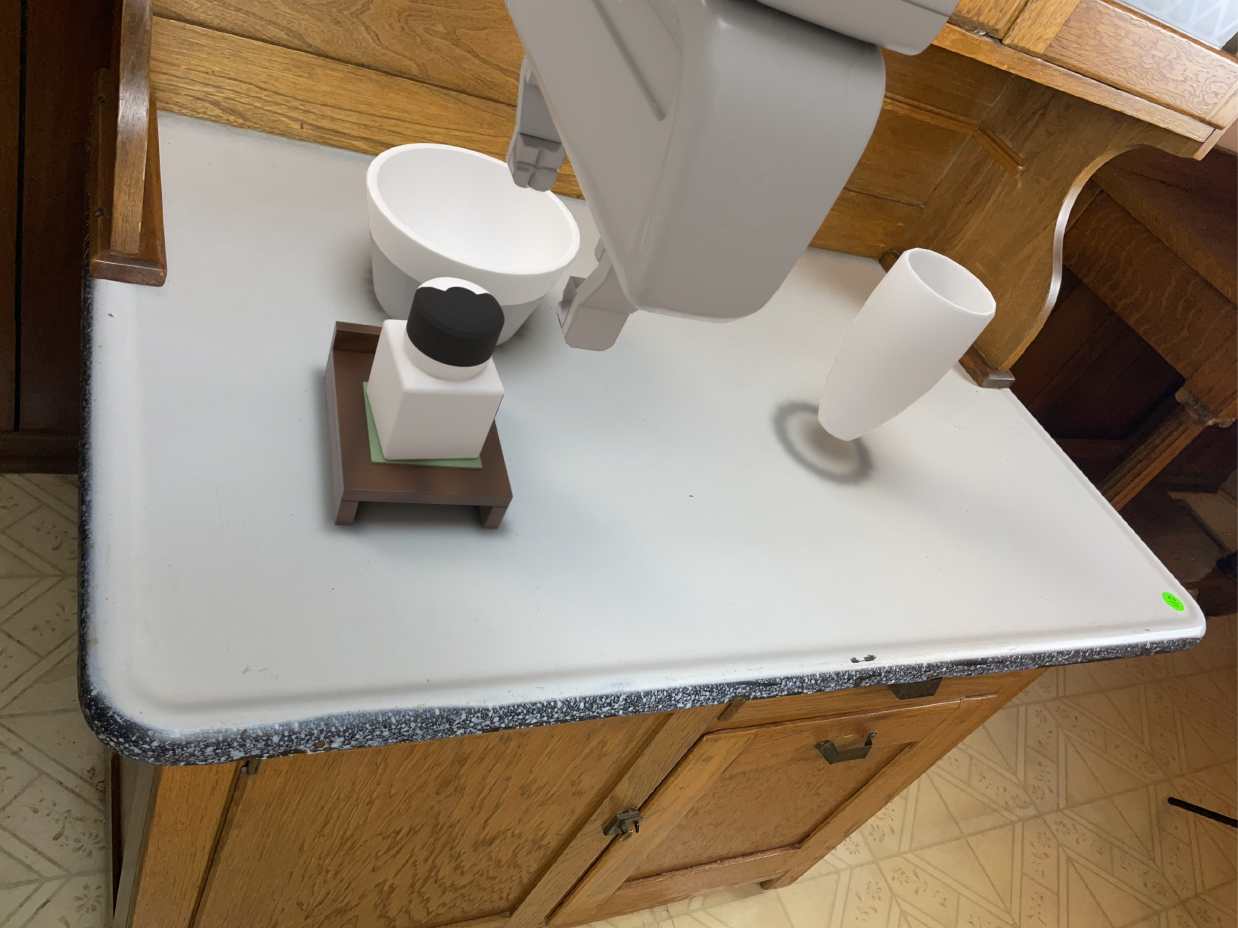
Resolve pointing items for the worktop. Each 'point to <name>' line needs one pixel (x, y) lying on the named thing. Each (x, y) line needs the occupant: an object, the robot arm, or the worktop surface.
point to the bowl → (463, 229)
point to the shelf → (406, 481)
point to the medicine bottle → (438, 373)
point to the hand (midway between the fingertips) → (551, 250)
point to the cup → (903, 342)
